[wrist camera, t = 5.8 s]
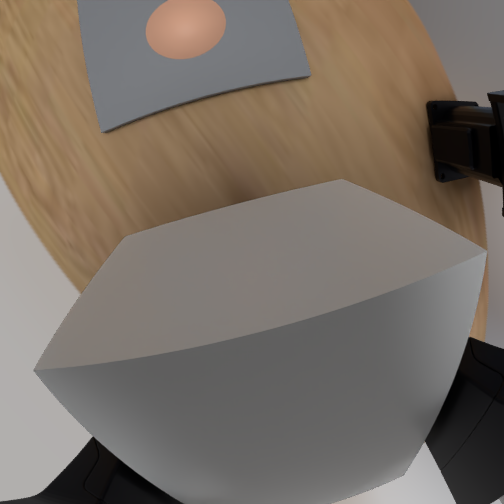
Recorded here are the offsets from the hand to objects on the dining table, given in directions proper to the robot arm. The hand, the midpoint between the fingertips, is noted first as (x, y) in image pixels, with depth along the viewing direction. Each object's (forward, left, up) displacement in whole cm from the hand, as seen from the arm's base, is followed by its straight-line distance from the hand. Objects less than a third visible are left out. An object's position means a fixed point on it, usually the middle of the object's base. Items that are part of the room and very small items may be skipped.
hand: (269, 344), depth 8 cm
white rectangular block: (0, 0, -1) cm, 1 cm away
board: (0, -17, -12) cm, 20 cm away
